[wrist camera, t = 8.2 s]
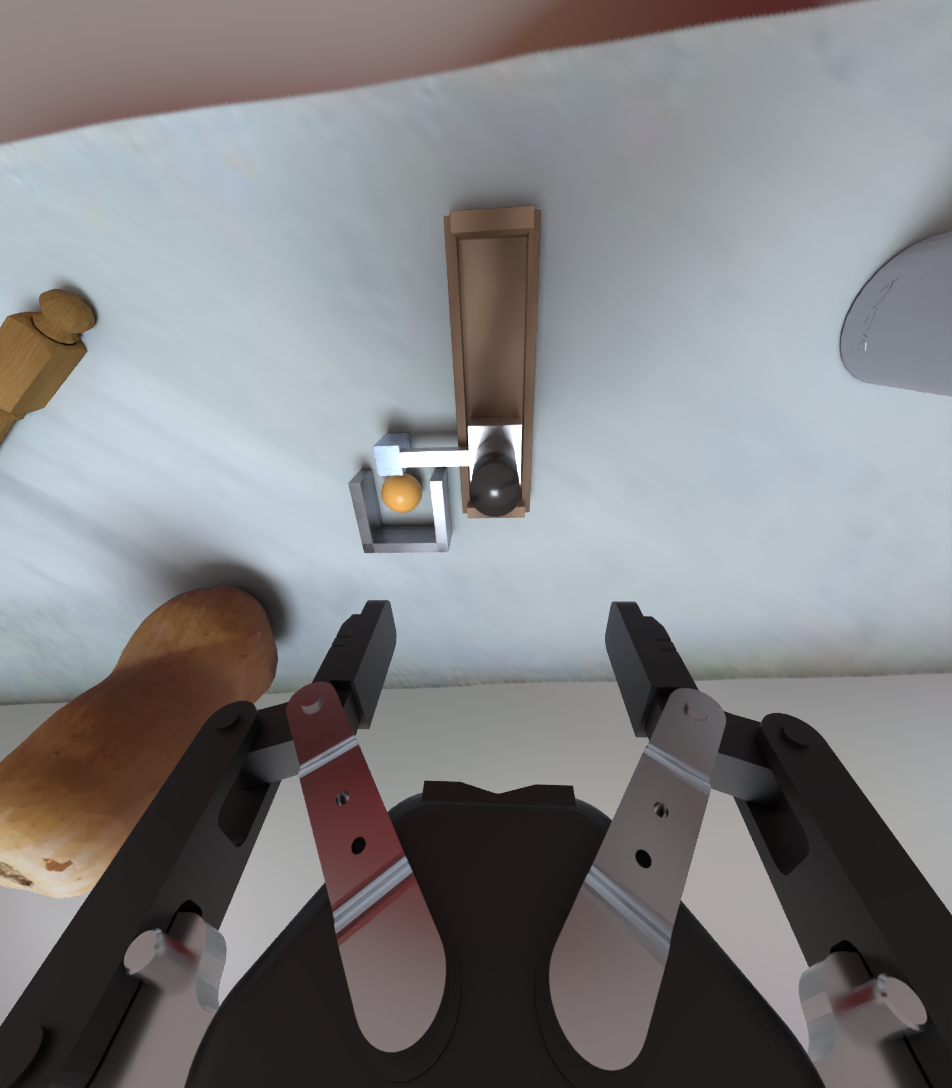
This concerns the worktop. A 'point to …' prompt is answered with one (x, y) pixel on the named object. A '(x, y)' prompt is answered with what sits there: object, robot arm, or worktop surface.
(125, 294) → the worktop surface
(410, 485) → the ball
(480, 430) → the kicker
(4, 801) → the butternut squash
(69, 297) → the tap handle
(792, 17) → the worktop surface
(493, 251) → the brown long open box
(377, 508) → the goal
